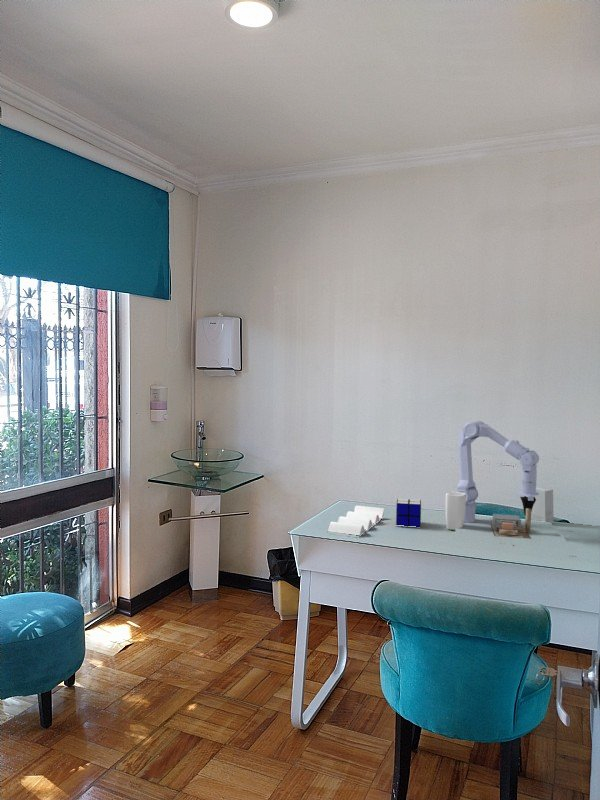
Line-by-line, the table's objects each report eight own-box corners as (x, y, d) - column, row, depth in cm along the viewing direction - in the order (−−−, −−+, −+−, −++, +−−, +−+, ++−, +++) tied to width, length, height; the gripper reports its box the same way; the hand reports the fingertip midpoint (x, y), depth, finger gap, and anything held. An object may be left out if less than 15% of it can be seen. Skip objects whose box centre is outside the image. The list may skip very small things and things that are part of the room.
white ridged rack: (326, 535, 247) (327, 522, 247) (355, 516, 279) (355, 505, 279) (358, 539, 242) (358, 526, 242) (383, 520, 274) (383, 508, 274)
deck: (494, 539, 242) (494, 535, 242) (489, 527, 262) (490, 523, 262) (530, 542, 240) (531, 538, 240) (523, 529, 259) (523, 525, 259)
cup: (443, 530, 256) (444, 494, 255) (448, 526, 262) (449, 491, 261) (461, 532, 252) (462, 496, 252) (465, 528, 259) (466, 493, 258)
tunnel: (494, 531, 249) (494, 518, 249) (492, 526, 257) (492, 513, 257) (520, 533, 247) (520, 520, 247) (517, 528, 255) (518, 515, 255)
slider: (499, 533, 244) (500, 510, 244) (497, 529, 252) (498, 506, 251) (532, 536, 242) (533, 512, 241) (530, 531, 249) (530, 508, 249)
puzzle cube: (396, 526, 260) (396, 503, 260) (396, 521, 270) (397, 498, 269) (420, 528, 258) (421, 504, 258) (420, 522, 268) (420, 499, 268)
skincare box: (553, 523, 270) (554, 489, 269) (544, 525, 267) (546, 490, 266) (536, 519, 277) (538, 486, 276) (528, 521, 274) (529, 487, 273)
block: (502, 533, 246) (502, 523, 246) (501, 531, 250) (501, 521, 250) (513, 534, 245) (513, 524, 245) (512, 531, 249) (512, 521, 249)
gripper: (542, 485, 242) (541, 520, 242) (536, 478, 256) (535, 511, 257) (523, 484, 243) (521, 518, 244) (518, 478, 257) (517, 510, 258)
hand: (527, 515), depth 250 cm, fingers closed
